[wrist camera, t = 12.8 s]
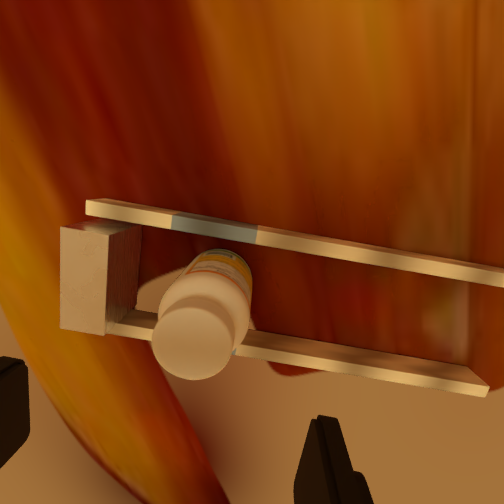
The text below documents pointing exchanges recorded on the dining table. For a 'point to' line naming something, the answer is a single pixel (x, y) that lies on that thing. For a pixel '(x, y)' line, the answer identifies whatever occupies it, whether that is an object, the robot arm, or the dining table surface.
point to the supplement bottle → (203, 315)
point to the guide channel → (255, 342)
